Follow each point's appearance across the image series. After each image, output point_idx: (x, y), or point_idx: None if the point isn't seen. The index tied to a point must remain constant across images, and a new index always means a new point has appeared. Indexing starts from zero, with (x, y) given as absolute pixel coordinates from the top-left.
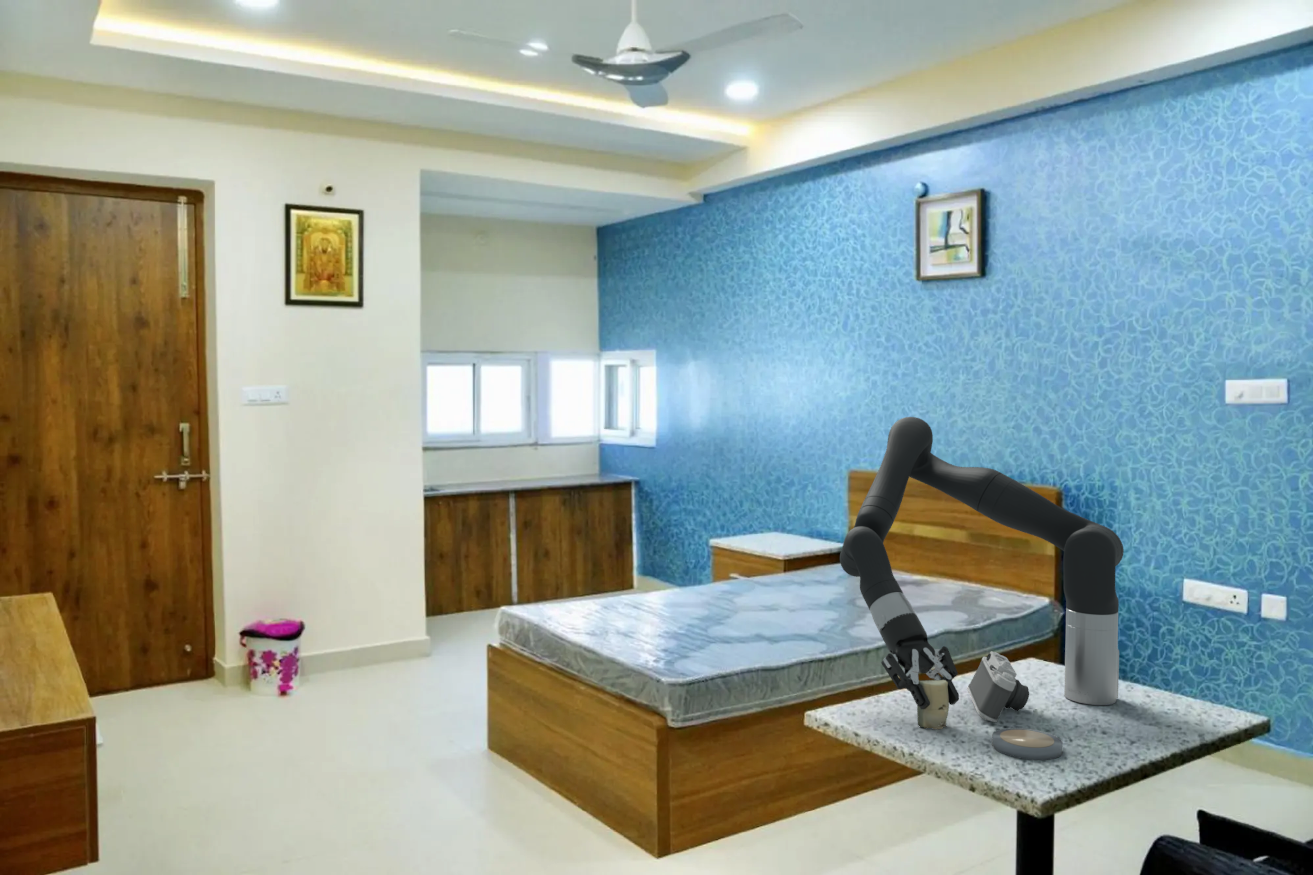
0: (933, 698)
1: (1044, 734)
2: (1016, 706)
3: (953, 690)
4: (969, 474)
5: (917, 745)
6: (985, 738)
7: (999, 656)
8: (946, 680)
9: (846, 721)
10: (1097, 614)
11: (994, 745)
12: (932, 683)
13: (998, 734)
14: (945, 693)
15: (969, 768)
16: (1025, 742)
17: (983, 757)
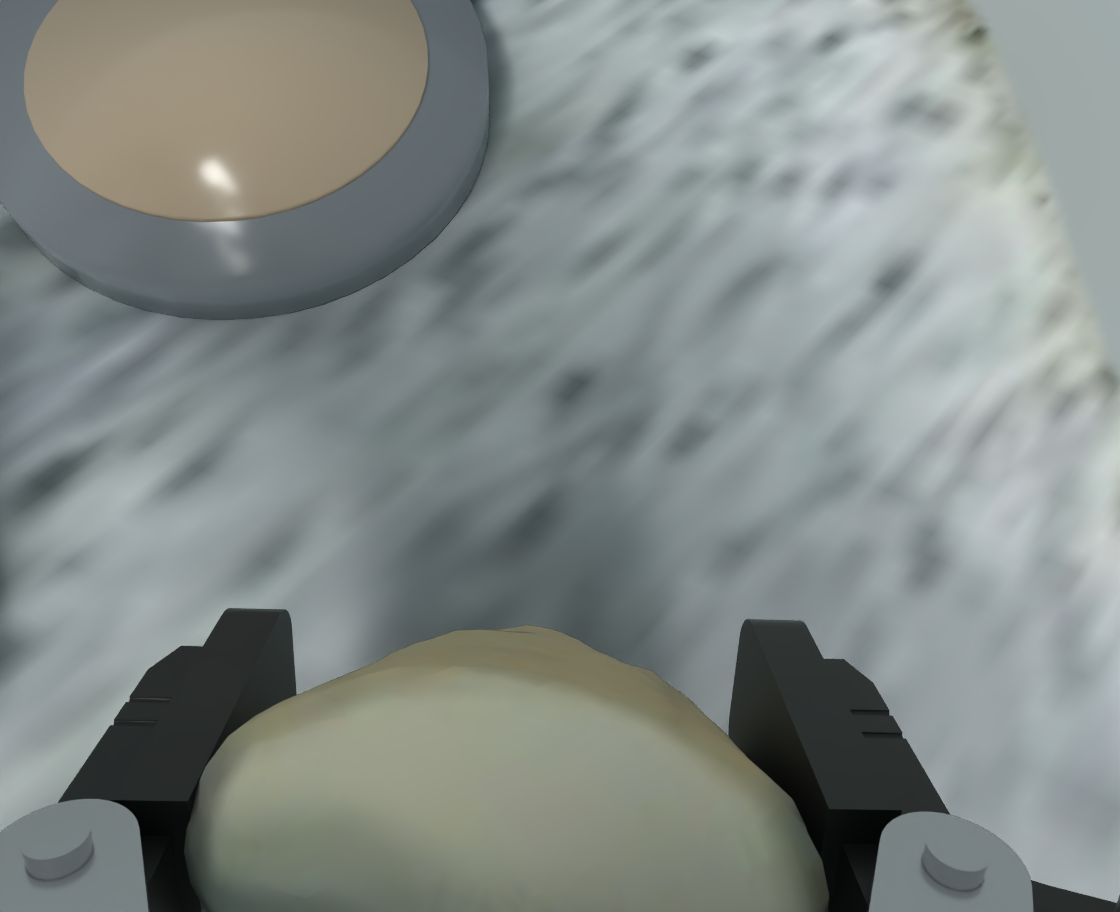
0: (640, 673)
1: (35, 54)
2: None
3: (221, 673)
4: None
5: (981, 476)
6: (344, 364)
7: None
8: (145, 853)
9: None
10: None
11: (467, 178)
12: (608, 735)
13: (339, 204)
14: (425, 643)
15: (879, 51)
16: (326, 12)
17: (666, 125)
